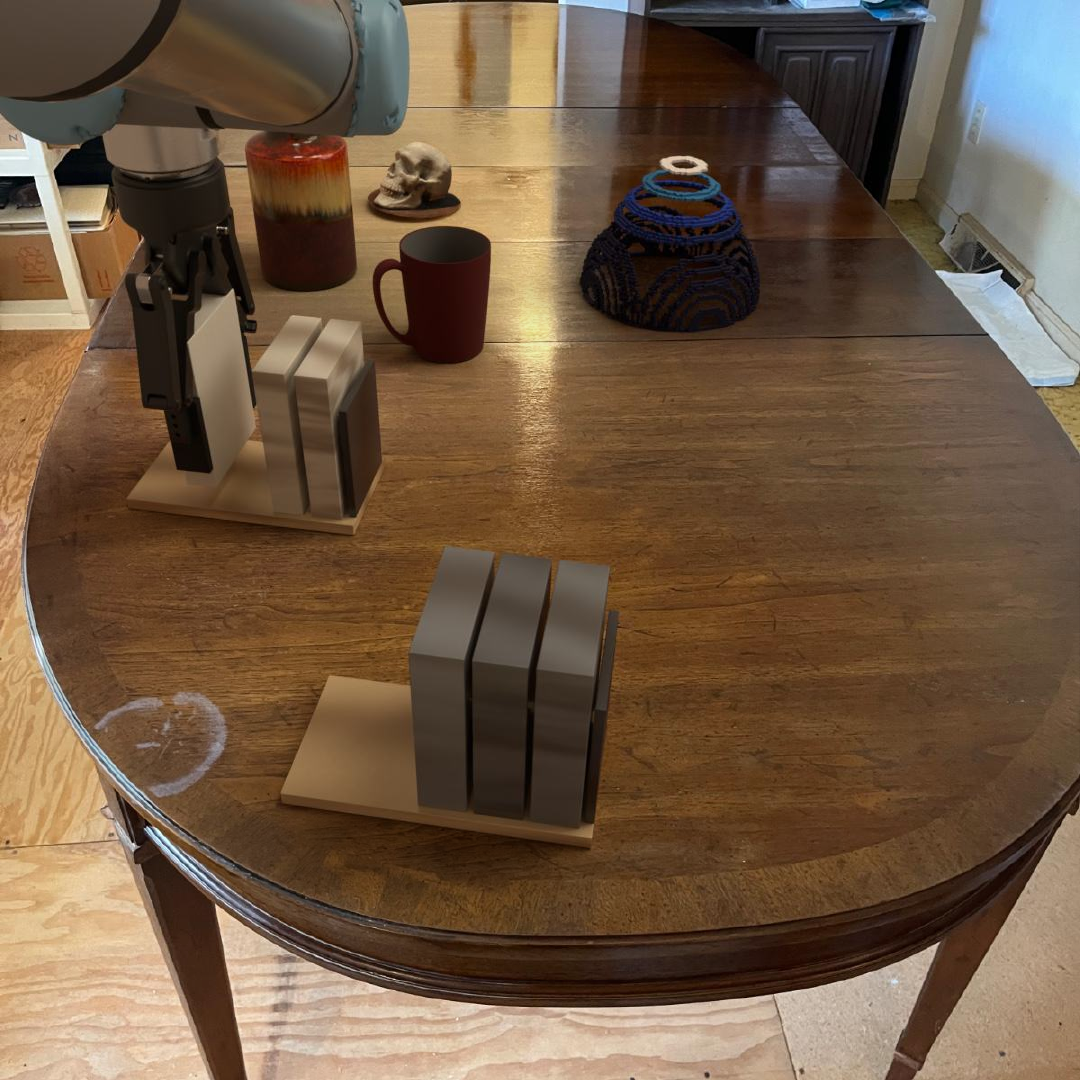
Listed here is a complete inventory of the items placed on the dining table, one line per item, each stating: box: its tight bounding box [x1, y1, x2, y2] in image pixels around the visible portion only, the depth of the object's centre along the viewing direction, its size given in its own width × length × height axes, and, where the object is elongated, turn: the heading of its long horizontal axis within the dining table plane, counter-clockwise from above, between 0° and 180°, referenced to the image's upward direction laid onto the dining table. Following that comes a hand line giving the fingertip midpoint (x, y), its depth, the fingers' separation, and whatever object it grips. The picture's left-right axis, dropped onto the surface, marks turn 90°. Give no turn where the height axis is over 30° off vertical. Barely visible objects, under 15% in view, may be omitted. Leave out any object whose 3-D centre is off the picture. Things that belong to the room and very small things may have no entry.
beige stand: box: [125, 314, 387, 536], centre depth 85 cm, size 10×19×14 cm, turn 82°
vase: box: [244, 131, 358, 292], centre depth 116 cm, size 11×11×20 cm
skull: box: [367, 141, 462, 220], centre depth 138 cm, size 12×10×10 cm
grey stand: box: [279, 545, 620, 849], centre depth 63 cm, size 10×19×14 cm, turn 82°
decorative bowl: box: [579, 155, 761, 333], centre depth 117 cm, size 20×20×14 cm
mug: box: [372, 225, 492, 364], centre depth 106 cm, size 12×9×11 cm
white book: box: [184, 289, 257, 488], centre depth 84 cm, size 9×2×13 cm, turn 172°
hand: (218, 435), depth 87 cm, fingers closed on white book, 9 cm apart
